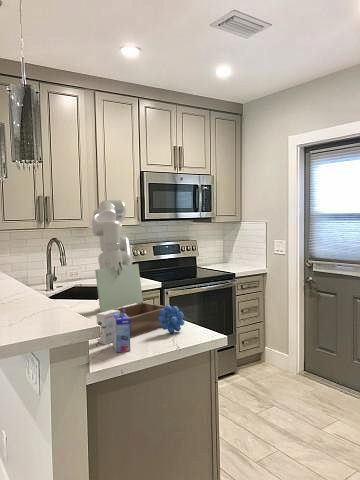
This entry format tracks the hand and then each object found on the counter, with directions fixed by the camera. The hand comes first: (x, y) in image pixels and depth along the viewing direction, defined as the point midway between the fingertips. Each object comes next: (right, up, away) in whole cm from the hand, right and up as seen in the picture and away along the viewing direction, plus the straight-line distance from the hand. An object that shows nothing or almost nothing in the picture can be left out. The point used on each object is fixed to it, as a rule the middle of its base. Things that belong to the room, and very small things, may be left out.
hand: (113, 286), depth 184 cm
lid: (+4, +1, -3) cm, 5 cm away
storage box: (+12, -17, -9) cm, 23 cm away
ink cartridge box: (+9, -19, -37) cm, 43 cm away
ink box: (+3, -19, -28) cm, 33 cm away
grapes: (+28, -18, -20) cm, 39 cm away
